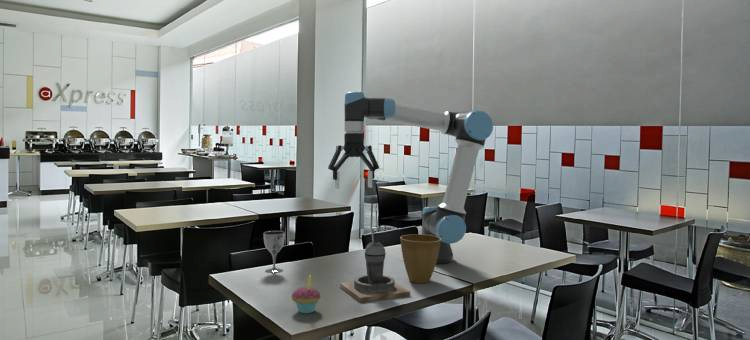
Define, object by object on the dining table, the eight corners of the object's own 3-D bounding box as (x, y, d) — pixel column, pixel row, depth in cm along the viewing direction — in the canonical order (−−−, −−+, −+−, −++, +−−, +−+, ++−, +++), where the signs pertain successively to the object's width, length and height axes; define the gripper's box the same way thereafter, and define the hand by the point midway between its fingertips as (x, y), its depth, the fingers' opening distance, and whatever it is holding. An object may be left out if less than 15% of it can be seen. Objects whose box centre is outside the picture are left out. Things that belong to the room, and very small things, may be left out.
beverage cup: (383, 290, 173) (383, 231, 171) (362, 289, 174) (362, 230, 173) (387, 284, 180) (387, 227, 178) (366, 283, 181) (366, 226, 180)
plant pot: (423, 289, 180) (423, 243, 179) (391, 280, 191) (391, 237, 190) (448, 280, 191) (449, 237, 190) (417, 273, 201) (417, 232, 200)
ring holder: (386, 281, 189) (387, 271, 189) (410, 295, 172) (410, 284, 172) (340, 287, 181) (340, 276, 181) (360, 302, 165) (360, 290, 165)
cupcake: (326, 310, 157) (326, 271, 156) (304, 317, 151) (304, 277, 150) (307, 304, 163) (307, 266, 162) (285, 310, 157) (285, 271, 156)
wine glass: (259, 272, 201) (259, 233, 200) (270, 267, 208) (270, 230, 207) (278, 274, 198) (278, 235, 197) (288, 269, 206) (288, 231, 205)
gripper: (379, 133, 208) (379, 186, 209) (320, 132, 198) (319, 188, 199) (387, 133, 201) (387, 187, 202) (326, 132, 191) (326, 189, 192)
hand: (353, 188), depth 201 cm, fingers open, 13 cm apart
